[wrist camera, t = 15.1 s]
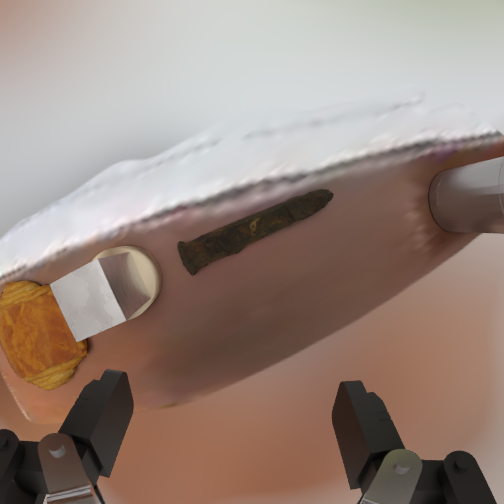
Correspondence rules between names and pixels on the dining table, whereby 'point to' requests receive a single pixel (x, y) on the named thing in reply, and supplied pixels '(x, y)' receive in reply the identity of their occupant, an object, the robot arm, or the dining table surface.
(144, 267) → the cream rounded block
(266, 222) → the hand tool
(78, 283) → the light grey block
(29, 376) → the croissant
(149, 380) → the dining table surface
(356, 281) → the dining table surface
